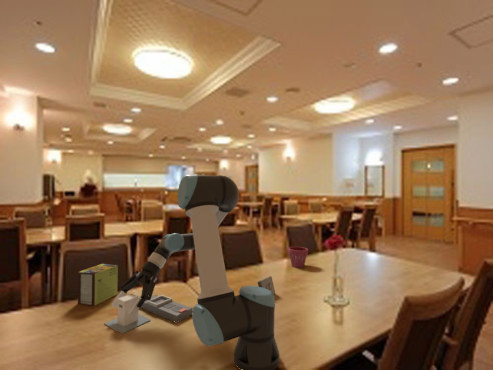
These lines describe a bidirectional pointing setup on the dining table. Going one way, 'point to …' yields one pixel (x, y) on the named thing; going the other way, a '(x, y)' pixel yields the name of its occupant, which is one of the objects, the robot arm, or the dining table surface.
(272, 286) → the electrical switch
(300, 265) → the plant pot
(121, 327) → the mat
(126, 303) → the charger
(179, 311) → the power strip
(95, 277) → the protein box
